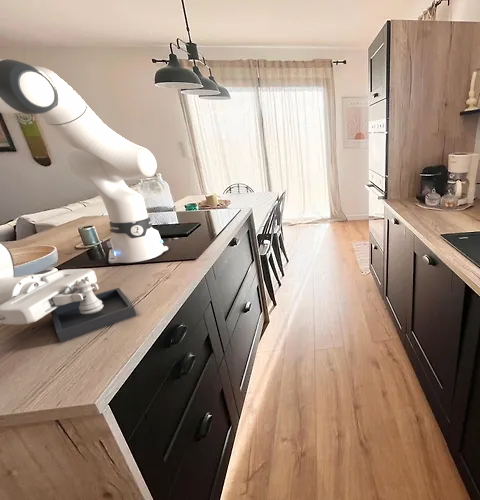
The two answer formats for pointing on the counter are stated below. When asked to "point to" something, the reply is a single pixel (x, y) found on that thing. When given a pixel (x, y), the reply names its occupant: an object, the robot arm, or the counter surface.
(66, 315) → the tray
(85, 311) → the rook chess piece
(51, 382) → the counter surface
